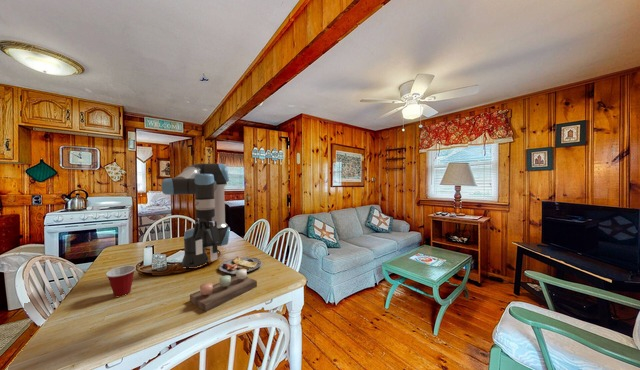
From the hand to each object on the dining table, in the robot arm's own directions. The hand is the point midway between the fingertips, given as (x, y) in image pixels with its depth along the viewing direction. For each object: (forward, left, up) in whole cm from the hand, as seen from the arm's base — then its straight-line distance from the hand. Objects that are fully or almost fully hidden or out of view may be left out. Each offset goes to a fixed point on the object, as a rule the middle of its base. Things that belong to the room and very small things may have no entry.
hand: (206, 257), depth 98 cm
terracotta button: (0, 0, -16) cm, 16 cm away
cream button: (0, +18, -16) cm, 24 cm away
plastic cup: (-40, -20, -21) cm, 49 cm away
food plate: (-21, +32, -21) cm, 43 cm away
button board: (0, +9, -20) cm, 22 cm away
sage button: (0, +9, -16) cm, 18 cm away
